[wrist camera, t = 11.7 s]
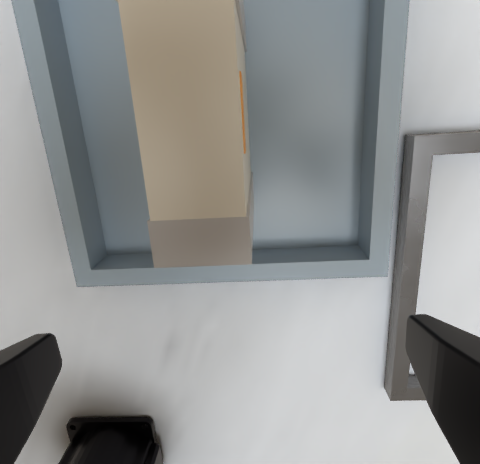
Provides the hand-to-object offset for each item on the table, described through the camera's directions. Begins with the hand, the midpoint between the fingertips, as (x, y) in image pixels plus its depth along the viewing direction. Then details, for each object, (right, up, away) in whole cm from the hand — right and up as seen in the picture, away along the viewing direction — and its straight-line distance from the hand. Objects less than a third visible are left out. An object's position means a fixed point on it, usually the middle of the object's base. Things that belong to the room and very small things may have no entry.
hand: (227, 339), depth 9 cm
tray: (-1, +9, +10) cm, 14 cm away
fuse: (-1, +9, +10) cm, 13 cm away
